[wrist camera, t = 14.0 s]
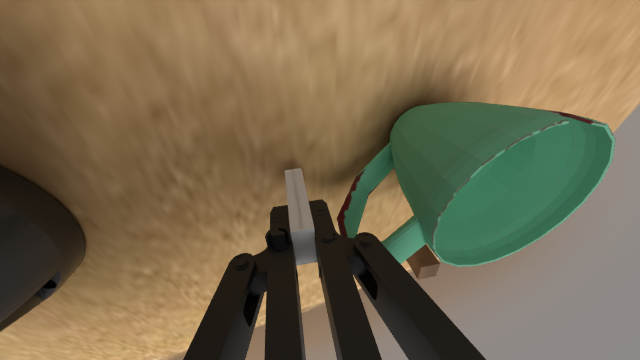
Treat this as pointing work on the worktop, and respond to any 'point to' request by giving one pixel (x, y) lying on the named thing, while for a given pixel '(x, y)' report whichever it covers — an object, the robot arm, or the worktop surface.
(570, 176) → the mug
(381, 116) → the worktop surface
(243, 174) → the worktop surface
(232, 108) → the worktop surface
